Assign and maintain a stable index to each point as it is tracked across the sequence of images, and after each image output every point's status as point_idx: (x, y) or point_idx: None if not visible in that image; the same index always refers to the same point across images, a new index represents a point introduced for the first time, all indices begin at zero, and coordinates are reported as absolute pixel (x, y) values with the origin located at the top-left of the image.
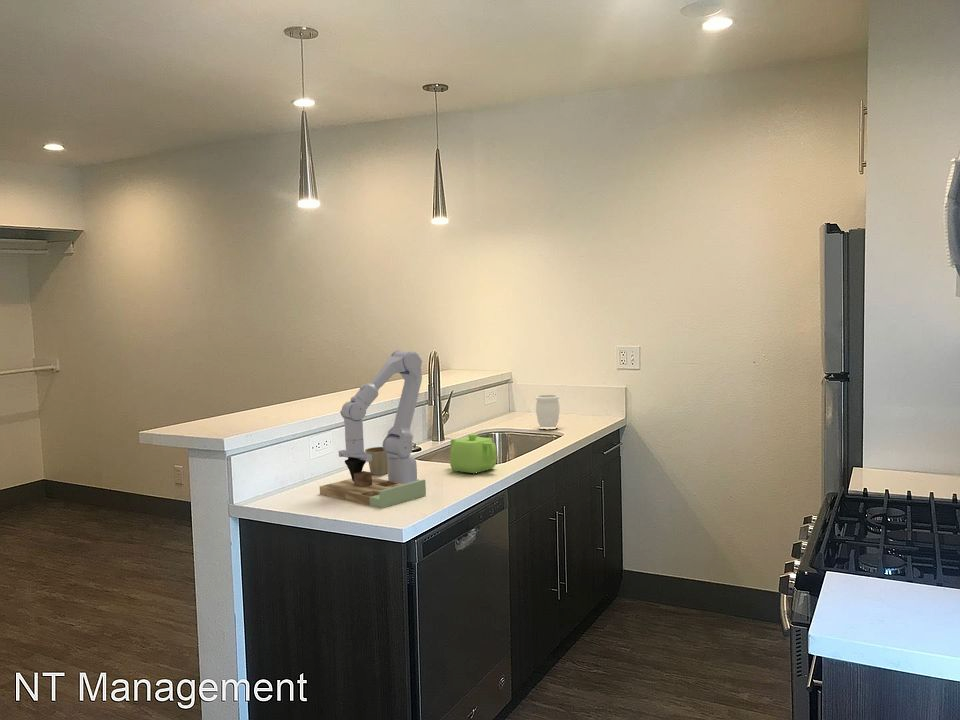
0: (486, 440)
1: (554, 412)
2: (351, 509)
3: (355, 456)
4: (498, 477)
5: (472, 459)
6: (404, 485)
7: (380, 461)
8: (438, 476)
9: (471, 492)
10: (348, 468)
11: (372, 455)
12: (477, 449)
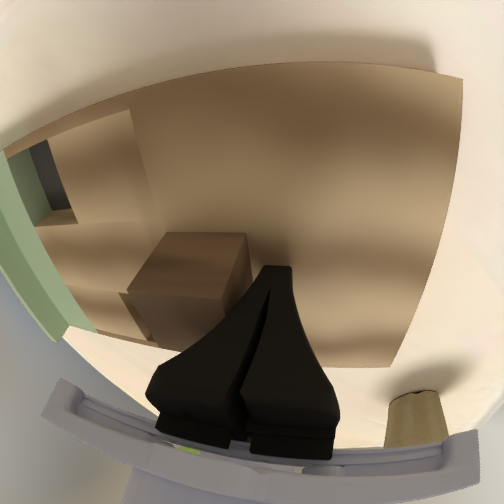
0: None
1: None
2: (20, 55)
3: (113, 439)
4: (159, 414)
5: (189, 449)
6: (3, 274)
7: (395, 437)
8: None
9: (75, 348)
10: (302, 338)
11: None
12: None
